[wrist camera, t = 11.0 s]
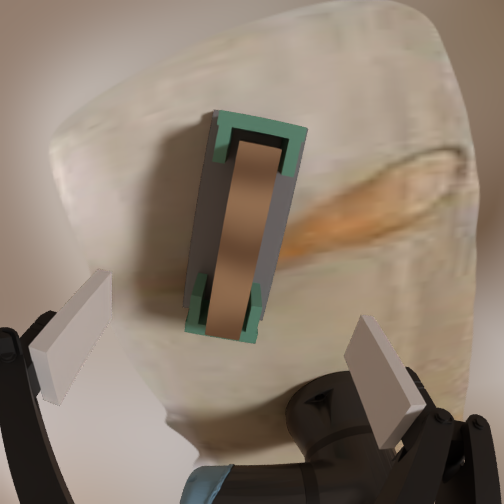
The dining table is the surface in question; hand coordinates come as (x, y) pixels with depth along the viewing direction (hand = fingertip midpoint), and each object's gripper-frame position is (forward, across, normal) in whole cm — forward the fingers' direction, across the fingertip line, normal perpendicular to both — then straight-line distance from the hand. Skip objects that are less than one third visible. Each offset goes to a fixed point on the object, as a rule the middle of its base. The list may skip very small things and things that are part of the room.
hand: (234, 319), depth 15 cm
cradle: (+19, 0, 0) cm, 19 cm away
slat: (+17, 0, 0) cm, 17 cm away
